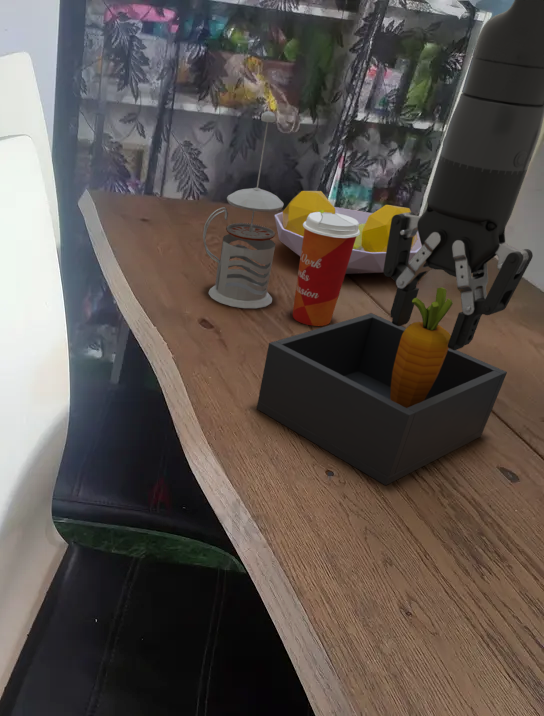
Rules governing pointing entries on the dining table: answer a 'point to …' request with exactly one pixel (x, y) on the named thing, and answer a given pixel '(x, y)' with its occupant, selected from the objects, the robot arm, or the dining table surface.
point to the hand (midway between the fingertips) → (426, 334)
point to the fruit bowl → (367, 244)
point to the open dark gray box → (373, 397)
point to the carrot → (421, 353)
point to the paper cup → (323, 265)
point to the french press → (238, 283)
